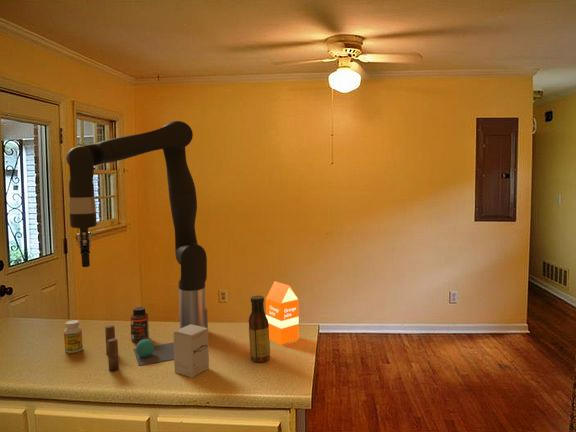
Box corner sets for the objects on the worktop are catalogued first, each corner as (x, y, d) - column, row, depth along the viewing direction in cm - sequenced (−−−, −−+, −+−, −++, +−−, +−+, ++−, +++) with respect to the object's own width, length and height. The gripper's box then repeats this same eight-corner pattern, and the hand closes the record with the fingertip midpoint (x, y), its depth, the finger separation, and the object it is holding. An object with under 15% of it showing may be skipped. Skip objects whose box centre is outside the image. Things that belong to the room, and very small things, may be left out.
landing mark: (176, 342, 157) (176, 341, 157) (185, 357, 145) (184, 357, 145) (133, 349, 152) (133, 348, 152) (138, 365, 139) (138, 365, 139)
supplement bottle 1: (81, 345, 155) (79, 318, 154) (84, 350, 151) (82, 322, 150) (63, 349, 152) (62, 321, 151) (66, 354, 148) (64, 325, 147)
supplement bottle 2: (132, 344, 156) (130, 311, 155) (130, 338, 162) (128, 307, 160) (150, 341, 159) (148, 309, 157) (147, 335, 164) (146, 304, 163)
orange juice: (281, 346, 154) (280, 287, 152) (265, 338, 161) (265, 282, 158) (299, 340, 159) (298, 283, 156) (283, 333, 165) (282, 279, 163)
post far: (115, 351, 150) (114, 324, 149) (116, 354, 148) (114, 327, 147) (106, 352, 149) (104, 326, 148) (106, 356, 146) (105, 328, 146)
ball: (131, 343, 147) (141, 356, 148) (133, 350, 141) (142, 363, 143) (147, 333, 148) (156, 346, 150) (149, 339, 143) (158, 353, 145)
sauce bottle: (273, 356, 145) (272, 295, 143) (265, 364, 139) (264, 300, 137) (254, 353, 147) (253, 293, 145) (246, 361, 142) (244, 298, 139)
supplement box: (192, 378, 131) (191, 335, 129) (173, 372, 135) (172, 330, 133) (210, 368, 137) (208, 327, 136) (191, 363, 141) (190, 323, 139)
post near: (118, 366, 138) (117, 338, 138) (119, 370, 136) (117, 341, 135) (108, 368, 137) (107, 339, 136) (109, 372, 135) (107, 342, 134)
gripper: (96, 212, 138) (99, 269, 140) (95, 209, 150) (98, 261, 152) (69, 214, 135) (72, 272, 137) (69, 210, 147) (73, 263, 149)
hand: (85, 266), depth 144 cm, fingers closed
